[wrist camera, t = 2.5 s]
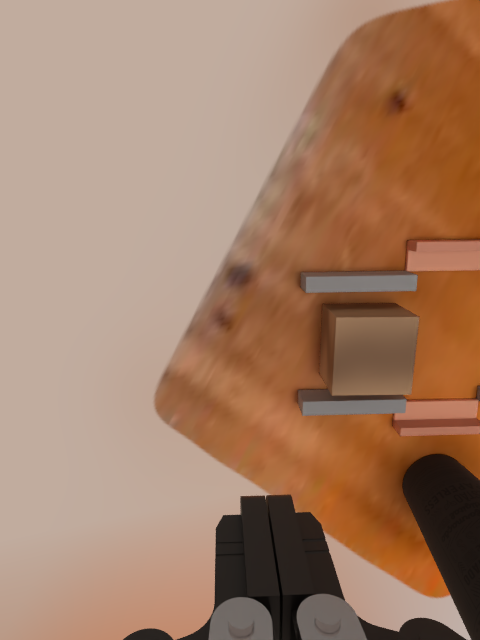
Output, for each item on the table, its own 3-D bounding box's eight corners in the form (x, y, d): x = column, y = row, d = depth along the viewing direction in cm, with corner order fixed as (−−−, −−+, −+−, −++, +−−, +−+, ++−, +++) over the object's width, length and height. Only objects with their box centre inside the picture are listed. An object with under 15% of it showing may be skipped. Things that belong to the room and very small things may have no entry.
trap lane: (301, 241, 29) (307, 244, 27) (592, 238, 30) (618, 240, 28) (297, 428, 33) (301, 442, 31) (559, 421, 33) (580, 434, 31)
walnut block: (322, 303, 31) (336, 317, 27) (394, 302, 31) (419, 316, 27) (318, 372, 32) (331, 395, 28) (388, 371, 32) (411, 394, 28)
